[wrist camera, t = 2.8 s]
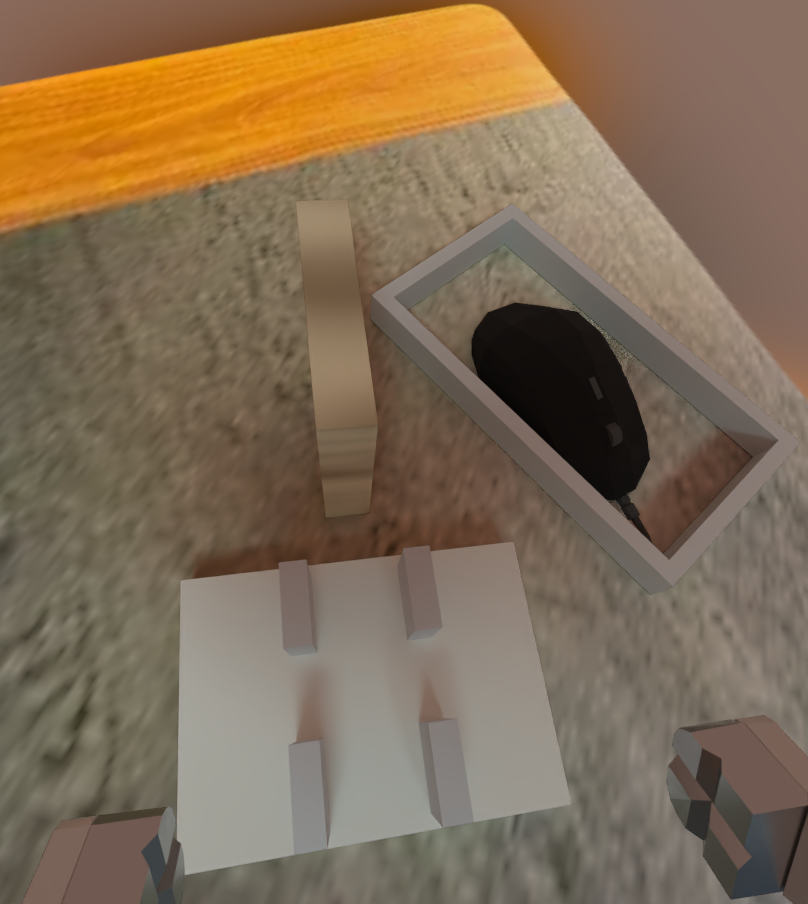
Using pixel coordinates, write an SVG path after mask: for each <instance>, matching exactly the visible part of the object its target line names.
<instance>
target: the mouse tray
mask: <svg viewBox="0 0 808 904" xmlns="http://www.w3.org/2000/svg"><path fill="white" fill-rule="evenodd" d="M504 244H505V245H506V246H507V247H508V248H509V249H511V250H512V251H513V252H514V253H515V254H516V255H518V256H519V257H520V258H521V259H522V260H523V261H525V262H526V263H527V264H528V265H529V266H530V267H532V268H533V269H534V270H535V271H536V272H537V273H539V274H540V275H541V276H542V277H543V278H544V279H546V280H547V281H548V282H549V283H550V284H551V285H553V286H554V287H555V288H556V289H557V290H558V291H560V292H561V293H562V294H563V295H564V296H565V297H567V298H568V299H569V300H570V301H571V302H572V303H574V304H575V305H576V306H577V307H578V308H579V309H581V310H582V311H583V312H584V313H585V314H586V315H588V316H589V317H590V318H591V319H592V320H593V321H595V322H596V323H597V324H598V325H599V326H600V327H602V328H603V329H604V330H605V331H606V332H607V333H609V334H610V335H611V336H612V337H613V338H615V339H616V340H617V341H618V342H619V343H620V344H622V345H623V346H624V347H625V348H626V349H627V350H629V351H630V352H631V353H632V354H633V355H634V356H636V357H637V358H638V359H639V360H640V361H641V362H643V363H644V364H645V365H646V366H647V367H648V368H650V369H651V370H652V371H653V372H654V373H655V374H657V375H658V376H659V377H660V378H661V379H662V380H664V381H665V382H666V383H667V384H668V385H669V386H671V387H672V388H673V389H674V390H675V391H676V392H678V393H679V394H680V395H681V396H682V397H683V398H685V399H686V400H687V401H688V402H689V403H690V404H692V405H693V406H694V407H695V408H696V409H697V410H699V411H700V412H701V413H702V414H703V415H704V416H706V417H707V418H708V419H709V420H710V421H711V422H713V423H714V424H715V425H716V426H717V427H718V428H720V429H721V430H722V431H723V432H724V433H726V434H727V435H728V436H729V437H730V438H731V439H733V440H734V441H735V442H736V443H737V444H738V445H740V446H741V447H742V448H743V449H744V450H745V451H747V452H748V453H749V454H750V455H751V456H752V458H751V459H750V460H749V462H748V463H747V464H746V465H745V466H744V467H743V468H742V469H741V470H740V471H739V472H738V473H737V475H736V476H735V477H734V478H733V479H732V480H731V481H730V482H729V483H728V484H727V485H726V486H725V488H724V489H723V490H722V491H721V492H720V493H719V494H718V495H717V496H716V497H715V498H714V499H713V501H712V502H711V503H710V504H709V505H708V506H707V507H706V508H705V509H704V510H703V511H702V512H701V514H700V515H699V516H698V517H697V518H696V519H695V520H694V521H693V522H692V523H691V524H690V526H689V527H688V528H687V529H686V530H685V531H684V532H683V533H682V534H681V535H680V536H679V537H678V539H677V540H676V541H675V542H674V543H673V544H672V545H671V546H670V547H669V548H668V549H667V550H666V552H665V553H664V554H662V553H661V552H660V551H659V550H658V549H657V548H656V547H655V546H654V545H653V544H652V543H651V542H650V541H649V540H648V539H647V538H646V537H645V536H644V535H642V534H641V533H640V532H639V531H638V530H637V529H636V528H635V527H634V526H633V525H632V524H631V523H630V522H629V521H628V520H627V519H626V518H625V517H624V516H623V515H622V514H620V513H619V512H618V511H617V510H616V509H615V508H614V507H613V506H612V505H611V504H610V503H609V502H608V501H607V500H606V499H605V498H604V497H603V496H602V495H601V494H600V493H598V492H597V491H596V490H595V489H594V488H593V487H592V486H591V485H590V484H589V483H588V482H587V481H586V480H585V479H584V478H583V477H582V476H581V475H580V474H579V473H578V472H576V471H575V470H574V469H573V468H572V467H571V466H570V465H569V464H568V463H567V462H566V461H565V460H564V459H563V458H562V457H561V456H560V455H559V454H558V453H557V452H556V451H554V450H553V449H552V448H551V447H550V446H549V445H548V444H547V443H546V442H545V441H544V440H543V439H542V438H541V437H540V436H539V435H538V434H537V433H536V432H535V431H533V430H532V429H531V428H530V427H529V426H528V425H527V424H526V423H525V422H524V421H523V420H522V419H521V418H520V417H519V416H518V415H517V414H516V413H515V412H514V411H513V410H511V409H510V408H509V407H508V406H507V405H506V404H505V403H504V402H503V401H502V400H501V399H500V398H499V397H498V396H497V395H496V394H495V393H494V392H493V391H492V390H491V389H489V388H488V387H487V386H486V385H485V384H484V383H483V382H482V381H481V380H480V379H479V378H478V377H477V376H476V375H475V374H474V373H473V372H472V371H471V370H470V369H469V368H467V367H466V366H465V365H464V364H463V363H462V362H461V361H460V360H459V359H458V358H457V357H456V356H455V355H454V354H453V353H452V352H451V351H450V350H449V349H448V348H447V347H445V346H444V345H443V344H442V343H441V342H440V341H439V340H438V339H437V338H436V337H435V336H434V335H433V334H432V333H431V332H430V331H429V330H428V329H427V328H426V327H425V326H423V325H422V324H421V323H420V322H419V321H418V320H417V319H416V318H415V317H414V316H413V315H412V314H411V313H410V312H409V311H408V309H410V308H411V307H413V306H414V305H415V304H417V303H418V302H420V301H421V300H423V299H424V298H426V297H427V296H429V295H430V294H432V293H433V292H435V291H436V290H438V289H439V288H441V287H442V286H443V285H445V284H446V283H448V282H449V281H451V280H452V279H454V278H455V277H457V276H458V275H460V274H461V273H463V272H464V271H466V270H467V269H469V268H470V267H471V266H473V265H474V264H476V263H477V262H479V261H480V260H482V259H483V258H485V257H486V256H488V255H489V254H491V253H492V252H494V251H495V250H497V249H498V248H499V247H501V246H502V245H504ZM370 319H371V320H372V321H373V322H374V323H375V324H376V325H377V326H378V327H379V328H380V329H381V330H382V331H383V332H384V333H385V334H386V335H387V336H388V337H389V338H390V339H391V340H392V341H393V342H394V343H395V344H396V345H397V346H398V347H399V348H400V349H401V350H402V351H403V352H404V353H405V354H406V355H407V356H408V357H409V358H410V359H411V360H412V361H413V362H414V363H415V364H416V365H417V366H418V367H419V368H420V369H421V370H422V371H423V372H424V373H425V374H427V375H428V376H429V377H430V378H431V379H432V380H433V381H434V382H435V383H436V384H437V385H438V386H439V387H440V388H441V389H442V390H443V391H444V392H445V393H446V394H447V395H448V396H449V397H450V398H451V399H452V400H453V401H454V402H455V403H456V404H457V405H458V406H459V407H460V408H461V409H462V410H463V411H464V412H465V413H466V414H467V415H468V416H469V417H470V418H471V419H472V420H473V421H474V422H475V423H476V424H477V425H478V426H479V427H480V428H481V429H482V430H483V431H484V432H485V433H486V434H487V435H488V436H489V437H491V438H492V439H493V440H494V441H495V442H496V443H497V444H498V445H499V446H500V447H501V448H502V449H503V450H504V451H505V452H506V453H507V454H508V455H509V456H510V457H511V458H512V459H513V460H514V461H515V462H516V463H517V464H518V465H519V466H520V467H521V468H522V469H523V470H524V471H525V472H526V473H527V474H528V475H529V476H530V477H531V478H532V479H533V480H534V481H535V482H536V483H537V484H538V485H539V486H540V487H541V488H542V489H543V490H544V491H545V492H546V493H547V494H548V495H549V496H550V497H551V498H552V499H554V500H555V501H556V502H557V503H558V504H559V505H560V506H561V507H562V508H563V509H564V510H565V511H566V512H567V513H568V514H569V515H570V516H571V517H572V518H573V519H574V520H575V521H576V522H577V523H578V524H579V525H580V526H581V527H582V528H583V529H584V530H585V531H586V532H587V533H588V534H589V535H590V536H591V537H592V538H593V539H594V540H595V541H596V542H597V543H598V544H599V545H600V546H601V547H602V548H603V549H604V550H605V551H606V552H607V553H608V554H609V555H610V556H611V557H612V558H613V559H614V560H615V561H616V562H618V563H619V564H620V565H621V566H622V567H623V568H624V569H625V570H626V571H627V572H628V573H629V574H630V575H631V576H632V577H633V578H634V579H635V580H636V581H637V582H638V583H639V584H640V585H641V586H642V587H643V588H644V589H645V590H646V591H647V592H648V593H649V594H650V595H653V594H655V593H658V592H660V591H663V590H665V589H668V588H670V587H673V586H674V585H675V584H676V582H677V581H678V580H679V579H680V578H681V577H682V576H683V575H684V573H685V572H686V571H687V570H688V569H689V568H690V567H691V566H692V564H693V563H694V562H695V561H696V560H697V559H698V558H699V557H700V555H701V554H702V553H703V552H704V551H705V550H706V549H707V548H708V546H709V545H710V544H711V543H712V542H713V541H714V540H715V539H716V537H717V536H718V535H719V534H720V533H721V532H722V531H723V530H724V528H725V527H726V526H727V525H728V524H729V523H730V522H731V521H732V519H733V518H734V517H735V516H736V515H737V514H738V513H739V512H740V510H741V509H742V508H743V507H744V506H745V505H746V504H747V503H748V501H749V500H750V499H751V498H752V497H753V496H754V495H755V494H756V492H757V491H758V490H759V489H760V488H761V487H762V486H763V485H764V483H765V482H766V481H767V480H768V479H769V478H770V477H771V476H772V474H773V473H774V472H775V471H776V470H777V469H778V468H779V467H780V465H781V464H782V463H783V462H784V461H785V460H786V459H787V458H788V456H789V455H790V454H791V453H792V452H793V451H794V450H795V448H796V447H797V446H798V445H799V444H800V443H801V442H800V441H799V440H798V439H797V438H796V437H794V436H793V435H792V434H791V433H790V432H788V431H787V430H786V429H785V428H784V427H782V426H781V425H780V424H779V423H778V422H776V421H775V420H774V419H773V418H771V417H770V416H769V415H768V414H767V413H765V412H764V411H763V410H762V409H761V408H759V407H758V406H757V405H756V404H755V403H753V402H752V401H751V400H750V399H748V398H747V397H746V396H745V395H744V394H742V393H741V392H740V391H739V390H738V389H736V388H735V387H734V386H733V385H732V384H730V383H729V382H728V381H727V380H725V379H724V378H723V377H722V376H721V375H719V374H718V373H717V372H716V371H715V370H713V369H712V368H711V367H710V366H709V365H707V364H706V363H705V362H704V361H702V360H701V359H700V358H699V357H698V356H696V355H695V354H694V353H693V352H692V351H690V350H689V349H688V348H687V347H686V346H684V345H683V344H682V343H681V342H679V341H678V340H677V339H676V338H675V337H673V336H672V335H671V334H670V333H669V332H667V331H666V330H665V329H664V328H663V327H661V326H660V325H659V324H658V323H656V322H655V321H654V320H653V319H652V318H650V317H649V316H648V315H647V314H646V313H644V312H643V311H642V310H641V309H640V308H638V307H637V306H636V305H635V304H633V303H632V302H631V301H630V300H629V299H627V298H626V297H625V296H624V295H623V294H621V293H620V292H619V291H618V290H617V289H615V288H614V287H613V286H612V285H611V284H609V283H608V282H607V281H606V280H604V279H603V278H602V277H601V276H600V275H598V274H597V273H596V272H595V271H594V270H592V269H591V268H590V267H589V266H588V265H586V264H585V263H584V262H583V261H581V260H580V259H579V258H578V257H577V256H575V255H574V254H573V253H572V252H571V251H569V250H568V249H567V248H566V247H565V246H563V245H562V244H561V243H560V242H558V241H557V240H556V239H555V238H554V237H552V236H551V235H550V234H549V233H548V232H546V231H545V230H544V229H543V228H542V227H540V226H539V225H538V224H537V223H535V222H534V221H533V220H532V219H531V218H529V217H528V216H527V215H526V214H525V213H523V212H522V211H521V210H520V209H519V208H517V207H516V206H515V205H514V204H511V205H509V206H508V207H506V208H505V209H503V210H501V211H500V212H498V213H497V214H495V215H494V216H492V217H491V218H489V219H488V220H486V221H484V222H483V223H481V224H480V225H478V226H477V227H475V228H474V229H472V230H471V231H469V232H468V233H466V234H464V235H463V236H461V237H460V238H458V239H457V240H455V241H454V242H452V243H451V244H449V245H447V246H446V247H444V248H443V249H441V250H440V251H438V252H437V253H435V254H434V255H432V256H430V257H429V258H427V259H426V260H424V261H423V262H421V263H420V264H418V265H417V266H415V267H414V268H412V269H410V270H409V271H407V272H406V273H404V274H403V275H401V276H400V277H398V278H397V279H395V280H393V281H392V282H390V283H389V284H387V285H386V286H384V287H383V288H381V289H380V290H378V291H377V292H375V293H373V294H372V295H371V313H370Z"/></svg>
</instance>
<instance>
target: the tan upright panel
mask: <svg viewBox="0 0 808 904" xmlns="http://www.w3.org/2000/svg"><path fill="white" fill-rule="evenodd" d="M296 207H297V218H298V230H299V241H300V252H301V264H302V275H303V287H304V298H305V310H306V321H307V333H308V344H309V355H310V367H311V378H312V390H313V401H314V413H315V424H316V434H317V443H318V452H319V461H320V469H321V478H322V487H323V496H324V504H325V513H326V518H328V517H338V516H347V515H357V514H366V513H369V511H370V501H371V491H372V481H373V471H374V461H375V451H376V441H377V431H378V420H377V413H376V406H375V398H374V391H373V384H372V376H371V369H370V362H369V354H368V347H367V339H366V332H365V325H364V317H363V310H362V303H361V295H360V288H359V281H358V273H357V266H356V259H355V251H354V244H353V237H352V229H351V222H350V214H349V207H348V200H347V199H345V200H314V201H296Z"/></svg>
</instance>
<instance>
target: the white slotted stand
mask: <svg viewBox="0 0 808 904" xmlns="http://www.w3.org/2000/svg"><path fill="white" fill-rule="evenodd" d="M566 805H572V804H571V799H570V795H569V790H568V786H567V781H566V777H565V772H564V768H563V763H562V759H561V754H560V750H559V745H558V741H557V736H556V731H555V727H554V722H553V718H552V713H551V709H550V704H549V700H548V695H547V691H546V686H545V682H544V677H543V673H542V668H541V664H540V659H539V654H538V650H537V645H536V641H535V636H534V632H533V627H532V623H531V618H530V614H529V609H528V605H527V600H526V596H525V591H524V587H523V582H522V577H521V573H520V568H519V564H518V559H517V555H516V550H515V546H514V542H506V543H497V544H488V545H480V546H471V547H463V548H454V549H446V550H437V551H430V545H427V546H418V547H409V548H403V551H402V554H401V555H394V556H386V557H377V558H369V559H360V560H351V561H343V562H334V563H326V564H317V565H309V566H308V563H307V560H306V559H305V560H297V561H288V562H279V569H274V570H266V571H257V572H249V573H240V574H232V575H223V576H214V577H206V578H197V579H189V580H181V599H180V665H179V731H178V797H177V841H178V842H180V843H181V845H182V850H183V854H184V867H185V875H187V874H193V873H198V872H204V871H209V870H215V869H220V868H226V867H231V866H237V865H242V864H248V863H253V862H259V861H264V860H270V859H275V858H281V857H286V856H292V855H298V854H303V853H309V852H314V851H320V850H325V849H330V848H336V847H341V846H347V845H352V844H358V843H363V842H369V841H374V840H380V839H385V838H391V837H396V836H402V835H407V834H413V833H418V832H424V831H429V830H435V829H440V828H446V827H451V826H457V825H462V824H468V823H473V822H479V821H484V820H490V819H495V818H501V817H506V816H512V815H517V814H522V813H528V812H533V811H539V810H544V809H550V808H555V807H561V806H566Z"/></svg>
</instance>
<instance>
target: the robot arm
mask: <svg viewBox="0 0 808 904" xmlns="http://www.w3.org/2000/svg"><path fill="white" fill-rule="evenodd" d="M672 746H673V747H674V749H675V750H676V752H677V753H678V755H677V756H676V758H675V759H674V760H673V761H672V762H671V763H670V764H669V765H668V773H667V786H668V791H669V796H670V800H671V802H672V804H673V807H674V809H675V811H676V813H677V815H678V817H679V818H680V820H681V822H682V823H683V825H684V826H685V828H686V829H687V830H689V831H690V832H692V833H693V834H695V835H696V836H698V837H699V838H701V839H702V840H703V857H704V858H705V860H706V861H707V863H708V865H709V866H710V868H711V869H712V871H713V872H714V874H715V876H716V877H717V879H718V880H719V882H720V883H721V885H722V887H723V888H724V890H725V891H726V893H727V894H728V896H729V898H730V899H737V898H744V897H750V896H756V895H763V894H769V893H775V892H781V891H784V892H783V895H784V896H785V897H786V898H787V899H789V900H790V901H791V902H792V903H794V904H808V756H807V755H806V754H805V753H804V752H803V751H802V750H801V749H800V748H799V747H798V746H797V745H796V744H795V743H794V742H793V741H792V740H791V739H790V737H789V736H788V735H787V734H786V733H785V732H784V731H783V730H782V729H781V728H780V727H779V726H778V725H777V724H776V723H775V722H774V721H773V720H772V719H770V718H768V717H766V716H764V715H762V716H755V717H748V718H742V719H736V720H725V721H719V722H713V723H707V724H701V725H695V726H689V727H683V728H679V729H678V730H677V732H676V733H675V734H674V738H673V743H672ZM175 825H176V820H175V817H174V813H173V810H172V807H162V808H154V809H146V810H138V811H130V812H122V813H114V814H105V815H98V816H91V817H84V818H77V819H70V820H62V821H61V822H60V824H59V825H58V826H57V828H56V829H55V830H54V831H53V833H52V834H51V837H50V839H49V841H48V844H47V846H46V848H45V851H44V853H43V855H42V857H41V860H40V862H39V864H38V867H37V869H36V871H35V874H34V876H33V878H32V880H31V883H30V885H29V887H28V890H27V892H26V894H25V897H24V899H23V901H22V904H182V899H183V891H184V876H185V867H184V854H183V850H182V845H181V843H180V842H178V841H177V840H176V839H174V838H173V834H174V830H175Z"/></svg>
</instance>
